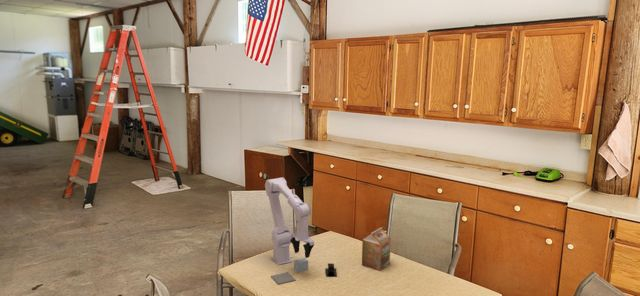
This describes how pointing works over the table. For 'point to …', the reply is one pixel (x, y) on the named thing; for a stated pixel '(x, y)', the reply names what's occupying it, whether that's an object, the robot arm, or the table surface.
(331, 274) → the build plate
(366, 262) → the milk carton
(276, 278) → the mat
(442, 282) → the table surface
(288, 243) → the robot arm
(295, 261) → the brick
